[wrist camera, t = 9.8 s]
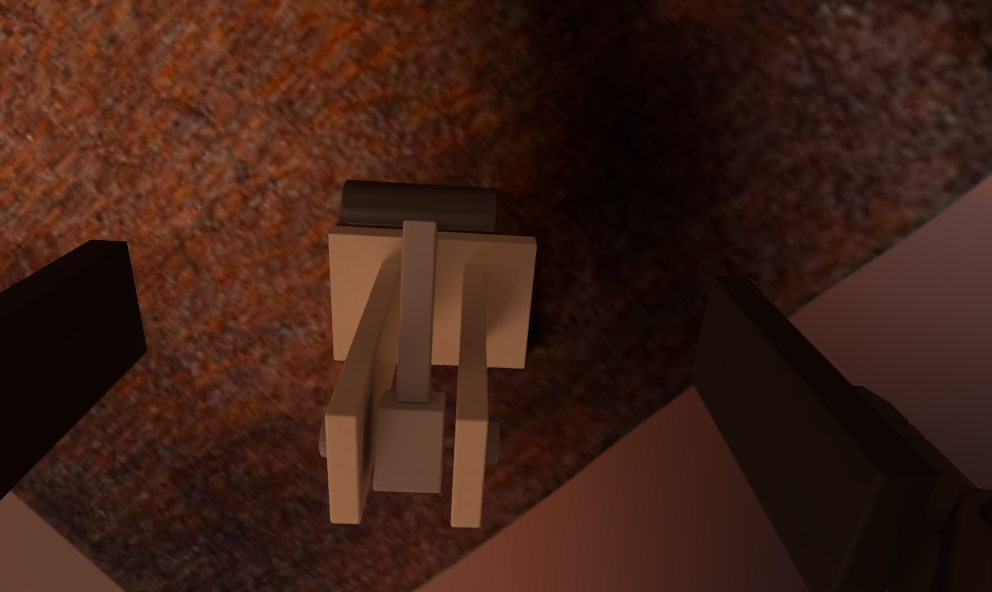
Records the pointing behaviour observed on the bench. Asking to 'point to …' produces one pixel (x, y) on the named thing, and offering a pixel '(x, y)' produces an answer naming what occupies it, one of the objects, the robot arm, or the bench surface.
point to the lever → (415, 320)
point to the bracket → (456, 341)
